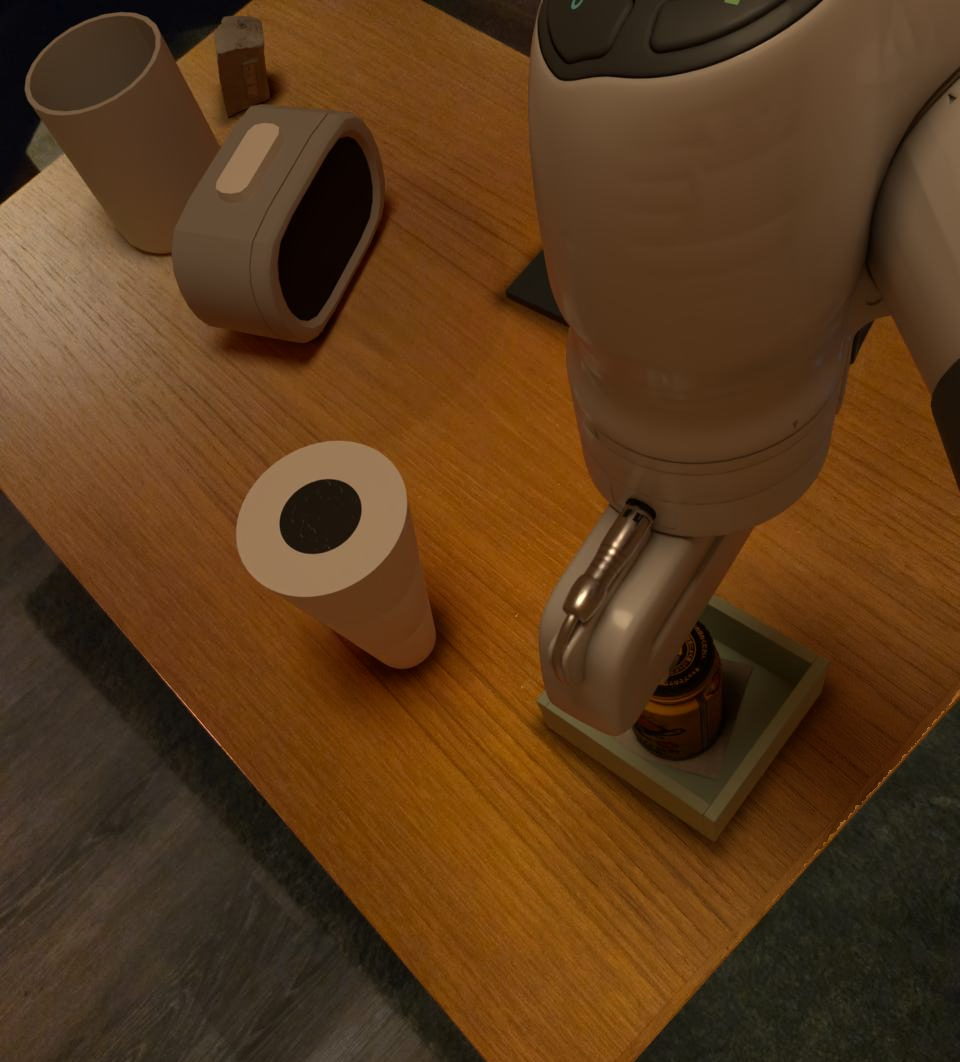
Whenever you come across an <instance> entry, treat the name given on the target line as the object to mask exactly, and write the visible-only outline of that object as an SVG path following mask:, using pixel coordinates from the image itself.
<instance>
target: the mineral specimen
mask: <svg viewBox="0 0 960 1062" xmlns="http://www.w3.org/2000/svg"><path fill="white" fill-rule="evenodd" d="M213 34H214V35H213V37H214V45H215V54H216V64H217V72H218V79H219V85H220V87H221V94H222V98H223V99H222V100H223V105H224V108H225V113H226V116H227V117H231V116H233V115H235V114H237V113H239V112H242V111H245V110H248V109H249V108H250V106H255V105H259V104H263V102H266V101H268V100H270V97H271V96H270V95H271V94H270V88H269V80H268V73H267V66H266V56H265V55H266V54H265V36H264V30H263V22H262V20H261V19H260V18H257V17H253V16H251V15H227V16H223V17H222V19H221V23H220V24H219V25H218V26H217V28H215V29H214V33H213Z"/></svg>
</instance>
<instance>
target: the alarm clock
mask: <svg viewBox="0 0 960 1062" xmlns="http://www.w3.org/2000/svg"><path fill="white" fill-rule="evenodd" d="M220 147H221V148H220V150H219V151H218V153H217V155H216V156H215V158H214V159H213V161H212V163H211V164H210V166H209V167H208V169H207V171H206V172H205V174H204V176H203V177H202V179H201V180H200V182H199V184H198V185H197V187H196V188H195V190H194V192H193V193H192V195H191V196H190V198H189V200H188V202H187V204H186V206H185V208H184V210H183V212H182V214H181V216H180V219H179V221H178V223H177V225H176V227H175V229H174V235H173V244H172V253H171V262H172V270H173V275H174V278H175V281H176V284H177V287H178V289H179V292H180V294H181V296H182V298H183V300H184V301H185V303H186V305H187V307H188V308H189V310H190V311H191V312H192V313H193V314H194V315H195V317H196V318H197V319H199V320H200V321H201V322H203V323H204V324H205V325H207V327H212V328H218V329H222V330H227V331H228V330H229V331H233V332H239V333H244V334H249V335H255V336H260V337H265V338H270V339H271V338H272V339H276V340H281V341H286V342H293V343H300V344H305V343H308V342H310V341H312V340H314V339H316V338H317V337H319V336H320V334H322V333H323V331H324V330H325V328H326V326H327V324H328V322H329V321H330V319H331V318H332V316H333V314H334V313H335V311H336V309H337V307H338V305H339V304H340V302H341V299H342V298H343V296H344V294H345V292H346V290H347V288H348V287H349V285H350V283H351V281H352V280H353V277H354V275H355V274H356V272H357V269H358V268H359V266H360V264H361V262H362V260H363V258H364V257H365V254H366V253H367V251H368V249H369V248H370V246H371V243H372V241H373V239H374V236H375V234H376V231H377V229H378V227H379V225H380V222H381V220H382V218H383V213H384V206H385V199H386V179H385V173H384V167H383V160H382V157H381V154H380V150H379V146H378V144H377V141H376V140H375V137H374V136H373V133H372V131H371V130H370V128H369V126H368V125H367V124H366V122H365V121H364V119H363V118H362V117H360V116H358V115H357V114H355V113H352V112H350V111H341V110H331V109H320V108H310V107H300V106H299V107H298V106H297V107H296V106H287V105H276V104H264V103H260V104H256V105H254V106H250V107H249V108H248V109H246V111H245V113H243V115H241V117H240V119H239V120H237V122H236V123H235V125H234V126H233V127H232V128H231V130H230V132H229V133H228V135H227V136H226V138H225V140H224V141H223V143H222V145H221V146H220Z"/></svg>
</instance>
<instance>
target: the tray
mask: <svg viewBox="0 0 960 1062" xmlns="http://www.w3.org/2000/svg"><path fill="white" fill-rule="evenodd" d="M698 620H699V622H700V623H703V625H705V627H706V629H707V630H708V631H709V632H710V635H711V637H712V638H713V644H714V645H715V646H716V649H717V651H718V653H719V656H720V658H724V659H728V660H732V661H736V662H741V663H745V664H750V665H752V668H751V671H750V674H749V677H748V681H747V684H746V688H745V691H744V694H743V697H742V701H741V704H740V707H739V710H738V713H737V717H736V721H735V723H734V727H733V730H732V733H731V737H730V740H729V743H728V746H727V749H726V753H725V756H724V759H723V762H722V765H721V769H720V772H719V775H718V778H717V780H714V779H711V778H707V777H704V776H701V775H698V774H695V773H690V772H687V771H683V770H680V769H677V768H673V767H670V766H667V765H663V764H660V763H656V762H653V761H650V760H647V759H644V758H641V757H640V756H638V755H637V754H635V753H634V752H632V751H631V750H629V749H628V748H626V747H625V746H623V745H622V744H620V743H619V742H617V741H616V740H614V738H615V736H610V735H607V734H605V733H602V732H600V731H598V730H596V729H594V728H592V727H590V726H588V725H586V724H584V723H583V722H581V721H579V720H577V719H575V718H574V717H572V716H570V715H569V714H567V713H565V712H563V711H562V710H560V709H559V708H557V707H556V706H555V705H553V704H552V703H551V701H550V700H549V698H548V696H547V694H546V691H545V689H544V690H543V691H542V693H541V694H540V695H539V696H538V697H537V699H536V704H537V705H538V707H539V710H540V713H541V715H542V717H543V719H544V721H545V723H546V725H547V728H548V729H550V730H551V731H552V732H554V733H555V734H556V735H558V736H559V737H561V738H563V740H566V741H567V742H568V743H570V744H571V745H572V746H574V747H576V748H577V749H579V750H580V751H581V752H583V753H584V754H585V755H587V756H588V757H590V758H592V759H593V760H594V761H596V762H597V763H599V764H600V765H601V766H603V767H604V768H606V769H607V770H609V771H610V772H611V773H613V774H614V775H616V776H617V777H619V778H620V779H622V780H623V781H625V782H626V783H628V784H629V785H631V786H632V787H633V788H635V789H636V790H638V791H639V792H641V793H642V794H643V795H645V796H646V797H648V799H651V800H652V801H653V802H655V803H656V804H658V805H659V806H661V807H662V808H664V809H665V810H666V811H668V812H669V813H671V814H672V815H673V816H675V817H676V818H678V819H679V820H681V821H682V822H684V823H685V824H686V825H688V826H689V827H691V828H692V829H694V830H695V831H696V832H698V833H699V834H701V835H702V836H704V837H705V838H706V839H708V840H709V841H711V842H712V843H715V842H716V841H717V839H718V838H720V835H721V834H722V833H723V832H724V830H725V828H726V827H727V826H728V824H729V823H730V821H731V820H732V819H733V817H734V816H735V814H736V813H737V811H738V810H739V809H740V807H741V806H742V805H743V803H744V802H745V800H746V799H747V797H748V796H749V795H750V793H751V792H752V791H753V790H754V788H755V786H756V785H757V784H758V782H759V781H760V779H761V778H762V777H763V776H764V773H765V772H766V771H767V770H768V768H769V767H770V765H771V764H772V763H773V761H774V760H775V758H776V757H777V756H778V754H779V753H780V751H781V750H782V748H783V747H784V746H785V744H786V743H787V741H788V740H789V739H790V738H791V736H792V734H793V733H794V732H795V730H796V729H797V728H798V727H799V725H800V724H801V722H802V720H803V719H804V718H805V716H806V715H807V714H808V712H809V711H810V709H811V708H812V707H813V705H814V703H816V701H817V700H818V698H819V696H821V694H822V692H823V687H824V685H825V680H826V678H827V673H828V670H829V667H830V663H831V661H830V660H829V659H827V658H826V657H824V656H822V655H820V654H819V653H817V652H815V651H814V650H812V649H810V648H808V647H806V646H805V645H803V644H801V643H800V642H798V641H796V640H795V639H793V638H791V637H789V636H787V635H786V634H784V633H782V632H780V631H778V630H777V629H775V628H774V627H772V626H770V625H768V624H766V623H764V622H763V621H761V620H759V619H757V618H756V617H754V616H752V615H751V614H749V613H747V612H745V611H744V610H742V609H740V608H739V607H737V606H735V605H733V604H732V603H730V602H728V601H727V600H725V599H723V598H721V597H720V596H717V595H716V594H714V595H713V596H712V598H711V600H710V601H709V603H708V605H707V606H706V608H705V609H704V611H703V613H702V614H701V616H700V618H699V619H698Z"/></svg>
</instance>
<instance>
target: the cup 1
mask: <svg viewBox="0 0 960 1062" xmlns="http://www.w3.org/2000/svg"><path fill="white" fill-rule="evenodd" d="M24 92H25V97H26V99H27V102H28V103H29V105H30V106H31V107H32V109H33V110H34V112H35V113H36V114H37V116H38V117H39V119H40V121H42V123H43V124H44V126H45V127H46V128H47V131H48V132H49V134H51V137H52V138H53V139H54V140H55V141H56V143H57V145H58V146H59V147H60V149H61V150H62V152H63V154H64V155H66V158H67V159H68V161H69V162H70V163H71V165H72V166H73V168H74V169H75V170H76V173H77V174H78V176H80V178H81V179H82V181H83V182H84V184H85V185H86V186H87V188H88V189H89V190H90V193H92V195H93V197H94V198H95V199H96V201H97V202H98V204H99V205H100V206H101V208H102V209H103V211H104V212H105V214H106V215H107V217H108V218H109V219H110V221H111V222H112V224H113V225H114V227H115V228H116V229H117V230H118V232H119V233H120V234H121V235H122V237H123V238H124V239H125V240H126V241H127V242H128V243H129V244H130V245H131V246H133V247H135V248H137V249H139V250H141V251H143V252H147V253H151V254H157V255H158V254H159V255H162V254H164V255H165V254H172V244H173V235H174V229H175V227H176V225H177V223H178V221H179V219H180V216H181V214H182V212H183V210H184V208H185V206H186V204H187V202H188V200H189V198H190V196H191V195H192V193H193V192H194V190H195V188H196V187H197V185H198V184H199V182H200V180H201V179H202V177H203V176H204V174H205V172H206V171H207V169H208V167H209V166H210V164H211V163H212V161H213V159H214V158H215V156H216V155H217V153H218V151H219V150H220V148H221V147H222V146H221V145H220V144H219V141H218V139H217V137H216V135H215V134H214V132H213V130H212V128H211V127H210V124H209V122H208V121H207V120H208V119H207V118H206V117H205V115H204V113H203V111H202V109H201V107H200V105H199V104H198V100H197V99H196V98H195V96H194V94H193V92H192V90H191V88H190V86H189V84H188V82H187V80H186V79H185V77H184V75H183V72H182V71H181V69H180V67H179V65H178V63H177V61H176V60H175V58H174V56H173V54H172V52H171V50H170V48H169V46H168V45H167V42H166V41H165V39H164V37H163V34H162V33H161V31H160V29H159V27H158V25H157V24H156V23H155V22H154V21H153V20H151V19H150V18H149V17H148V16H145V15H142V14H139V13H137V12H128V11H127V12H124V11H119V12H112V13H104V14H100V15H98V16H95V17H92V18H89V19H86V20H83V21H81V22H80V23H78V24H76V25H74V26H71V27H69V28H68V29H67V30H65V31H64V32H62V33H61V34H59V35H58V36H56V37H55V38H54V39H53V40H52V41H51V42H50V43H48V45H47V46H45V48H44V47H43V49H42V50H41V51H40V52H39V54H38V55H37V56H36V58H35V59H34V61H32V63H31V65H30V67H29V70H28V72H27V74H26V76H25V84H24Z"/></svg>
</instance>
